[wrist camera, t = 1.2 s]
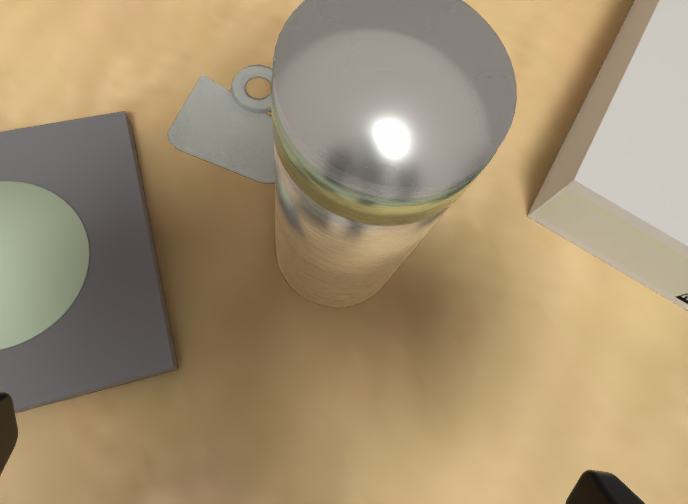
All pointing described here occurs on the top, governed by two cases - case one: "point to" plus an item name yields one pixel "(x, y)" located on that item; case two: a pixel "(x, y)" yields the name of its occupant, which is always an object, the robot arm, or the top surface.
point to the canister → (378, 134)
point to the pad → (77, 264)
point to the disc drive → (630, 156)
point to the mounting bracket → (228, 126)
